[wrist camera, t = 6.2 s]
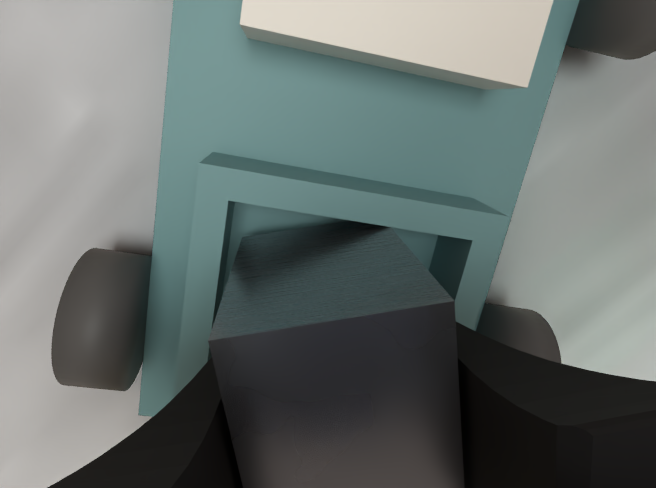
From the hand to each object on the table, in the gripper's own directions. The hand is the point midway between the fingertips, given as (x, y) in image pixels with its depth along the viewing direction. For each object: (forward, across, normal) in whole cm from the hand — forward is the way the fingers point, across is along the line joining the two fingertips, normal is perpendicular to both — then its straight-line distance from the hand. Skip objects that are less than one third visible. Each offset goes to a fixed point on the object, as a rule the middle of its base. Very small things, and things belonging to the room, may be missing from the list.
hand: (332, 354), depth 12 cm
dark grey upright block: (+2, 0, 0) cm, 2 cm away
